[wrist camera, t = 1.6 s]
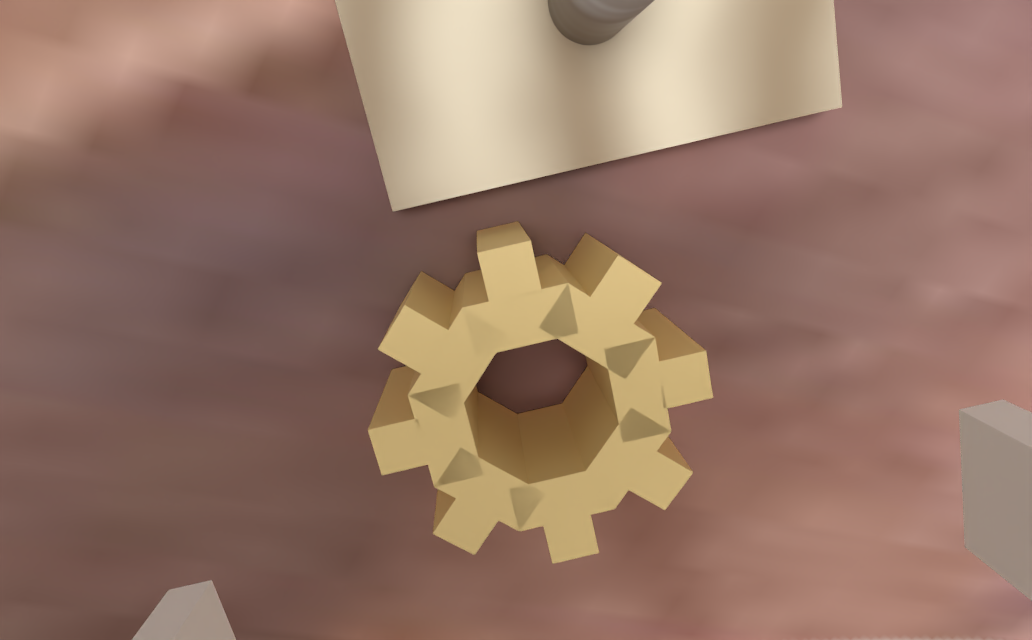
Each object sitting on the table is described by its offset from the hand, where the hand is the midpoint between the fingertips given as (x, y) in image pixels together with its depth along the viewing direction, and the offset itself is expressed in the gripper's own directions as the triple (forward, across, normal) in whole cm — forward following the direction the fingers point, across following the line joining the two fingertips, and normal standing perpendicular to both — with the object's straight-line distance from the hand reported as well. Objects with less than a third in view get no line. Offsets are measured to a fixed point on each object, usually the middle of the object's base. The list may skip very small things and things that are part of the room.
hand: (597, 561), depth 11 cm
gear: (+11, 0, 0) cm, 11 cm away
